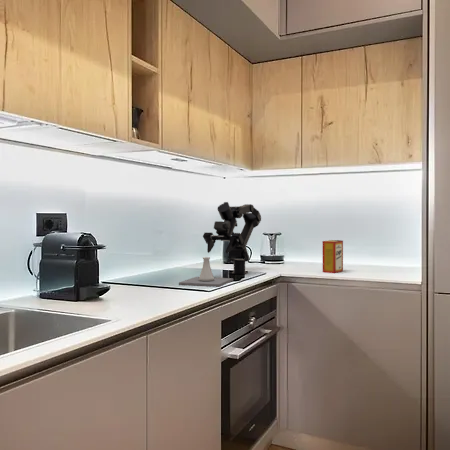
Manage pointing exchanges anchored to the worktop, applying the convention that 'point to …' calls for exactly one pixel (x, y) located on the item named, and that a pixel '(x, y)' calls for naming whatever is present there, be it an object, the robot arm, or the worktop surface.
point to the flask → (206, 271)
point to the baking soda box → (333, 256)
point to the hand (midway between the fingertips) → (217, 252)
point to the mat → (206, 282)
